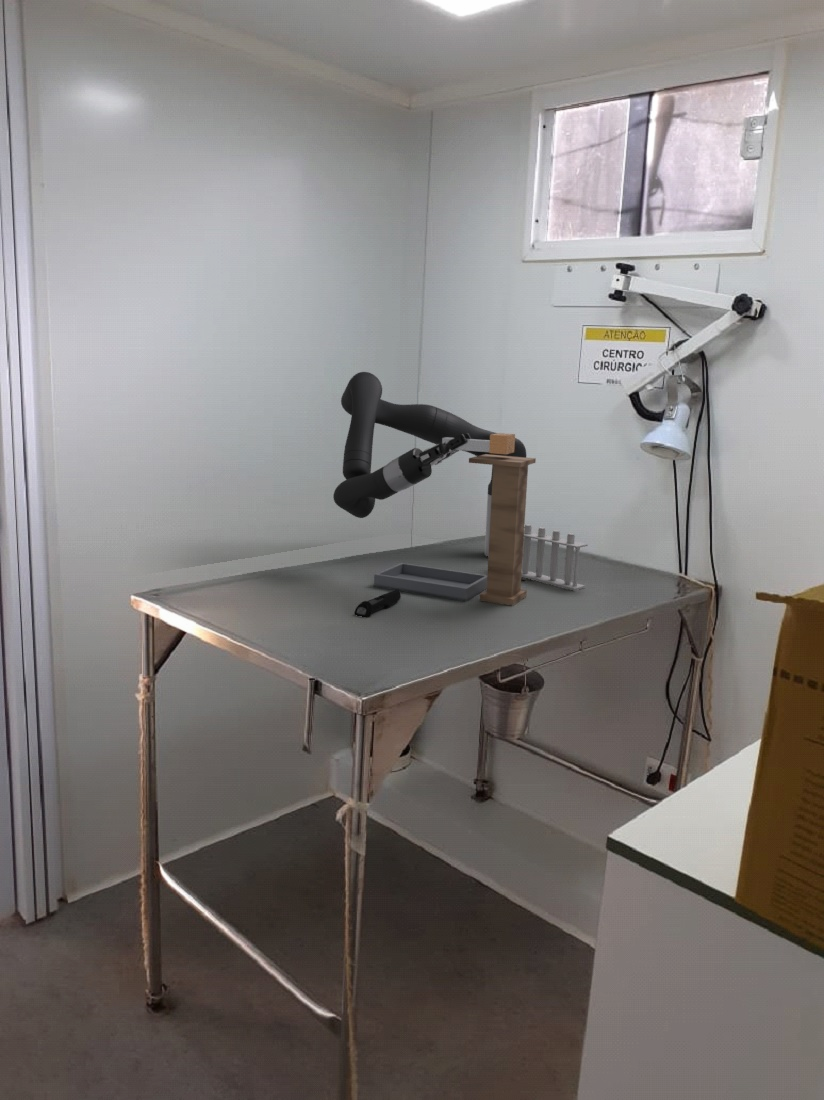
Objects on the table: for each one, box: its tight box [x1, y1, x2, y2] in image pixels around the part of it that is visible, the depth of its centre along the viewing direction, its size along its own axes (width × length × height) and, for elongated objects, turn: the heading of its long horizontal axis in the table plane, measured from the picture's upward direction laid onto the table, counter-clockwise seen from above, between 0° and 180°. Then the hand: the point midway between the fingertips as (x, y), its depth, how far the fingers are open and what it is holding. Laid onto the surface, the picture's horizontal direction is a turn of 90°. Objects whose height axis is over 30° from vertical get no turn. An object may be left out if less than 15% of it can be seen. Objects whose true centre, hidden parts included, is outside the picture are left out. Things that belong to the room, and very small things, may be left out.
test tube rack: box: [521, 523, 589, 592], centre depth 215 cm, size 25×4×13 cm, turn 43°
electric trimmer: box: [353, 589, 401, 618], centre depth 187 cm, size 4×16×3 cm, turn 150°
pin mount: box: [468, 454, 536, 606], centre depth 195 cm, size 10×12×32 cm
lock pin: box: [442, 432, 516, 454], centre depth 193 cm, size 5×16×4 cm, turn 64°
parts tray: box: [373, 562, 487, 602], centre depth 205 cm, size 14×24×3 cm, turn 64°
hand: (467, 437), depth 194 cm, fingers closed on lock pin, 2 cm apart
